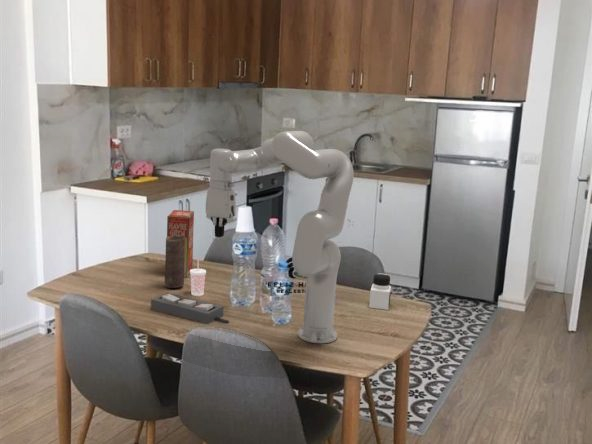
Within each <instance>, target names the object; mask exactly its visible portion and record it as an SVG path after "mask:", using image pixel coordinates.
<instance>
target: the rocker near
mask: <svg viewBox="0 0 592 444" xmlns="http://www.w3.org/2000/svg"><path fill="white" fill-rule="evenodd" d="M213 304H214V303H212V304H199V305H197V306H195V308H198V309H202V310H206V311H207V310H210V309H212V308H213Z"/></svg>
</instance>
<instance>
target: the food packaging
mask: <svg viewBox="0 0 592 444" xmlns="http://www.w3.org/2000/svg"><path fill="white" fill-rule="evenodd" d="M194 216H195V211H194V210H181V209H180V210H178V209H174V210H172V212H171V213H169V215H167V217H166V218H167V220H166V221H167V223H166V225H167V227H166V238H167V237H169V236H170V237H171V236H177V235H182V236H185V258H184V279H185V278H189V276H190V270H191V269H194V267H193V262H194V261H193V260H194V259H193V257H194V256H193V255H194V253H193V251H194V226H195V225H194V222H195V221H194V220H195V217H194Z"/></svg>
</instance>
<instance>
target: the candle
mask: <svg viewBox="0 0 592 444" xmlns="http://www.w3.org/2000/svg"><path fill="white" fill-rule="evenodd" d="M184 258H185V236H182V235H177V236H171V237H170V236H169V237H167V236H166V237H165V258H164V259H165V262H164V263H165V266H164V285H165V287H167V288H169V289H174V288H181V287H183V286H184V285H185V278H184Z"/></svg>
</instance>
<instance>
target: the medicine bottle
mask: <svg viewBox="0 0 592 444" xmlns="http://www.w3.org/2000/svg"><path fill="white" fill-rule="evenodd" d="M390 284H391V277H390V275H388V274H385V273H376V274H374V275H373V280H372V284H371V288H370V292H369V305H368V306H369V308H370V309H377V310H385V311H389V310H390V305H391V297H392V296H391V293H392V292H391V291H392V286H391V285H390Z"/></svg>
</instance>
